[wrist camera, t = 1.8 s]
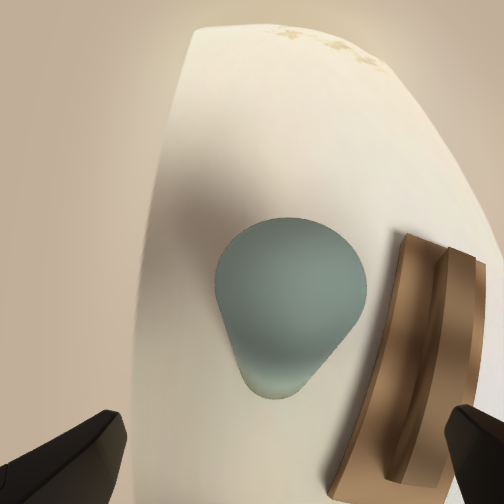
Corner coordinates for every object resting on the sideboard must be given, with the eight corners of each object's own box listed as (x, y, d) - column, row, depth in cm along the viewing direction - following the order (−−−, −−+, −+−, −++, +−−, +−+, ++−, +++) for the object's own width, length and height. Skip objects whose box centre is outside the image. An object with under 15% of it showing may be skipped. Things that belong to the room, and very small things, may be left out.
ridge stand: (429, 510, 13) (458, 520, 10) (326, 494, 15) (341, 508, 11) (477, 272, 23) (500, 248, 19) (400, 243, 24) (418, 213, 21)
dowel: (318, 388, 19) (389, 326, 8) (250, 406, 18) (234, 373, 8) (298, 326, 21) (333, 206, 11) (234, 343, 21) (202, 234, 10)
